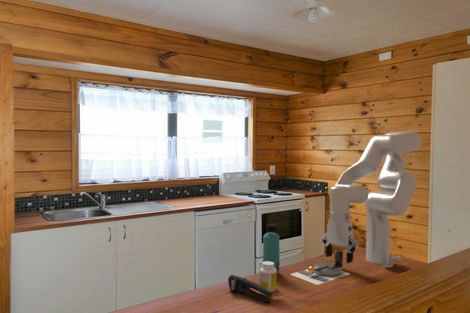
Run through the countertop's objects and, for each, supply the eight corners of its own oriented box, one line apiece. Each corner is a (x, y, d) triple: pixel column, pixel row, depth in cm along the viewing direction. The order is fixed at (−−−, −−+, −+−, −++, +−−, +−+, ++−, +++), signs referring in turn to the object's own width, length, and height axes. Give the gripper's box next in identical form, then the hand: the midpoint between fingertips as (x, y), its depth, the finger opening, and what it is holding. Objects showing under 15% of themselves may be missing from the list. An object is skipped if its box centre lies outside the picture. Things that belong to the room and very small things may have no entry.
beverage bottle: (278, 280, 129) (279, 227, 129) (261, 279, 131) (262, 225, 131) (280, 274, 136) (281, 223, 136) (263, 273, 137) (264, 222, 137)
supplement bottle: (275, 290, 120) (275, 260, 120) (276, 296, 115) (277, 265, 115) (259, 289, 120) (259, 260, 120) (260, 296, 115) (260, 265, 115)
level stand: (323, 268, 144) (323, 263, 144) (350, 277, 134) (350, 272, 134) (289, 278, 132) (289, 273, 132) (316, 289, 122) (317, 283, 122)
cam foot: (330, 263, 145) (330, 247, 145) (352, 271, 136) (353, 254, 136) (298, 272, 134) (298, 254, 134) (320, 280, 125) (321, 262, 125)
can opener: (223, 291, 119) (223, 274, 119) (236, 285, 124) (237, 270, 124) (263, 307, 107) (264, 289, 107) (277, 301, 112) (277, 283, 112)
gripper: (364, 219, 135) (363, 263, 135) (327, 212, 149) (327, 252, 149) (352, 221, 131) (352, 266, 131) (316, 214, 144) (315, 255, 145)
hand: (339, 259), depth 140 cm, fingers open, 9 cm apart
